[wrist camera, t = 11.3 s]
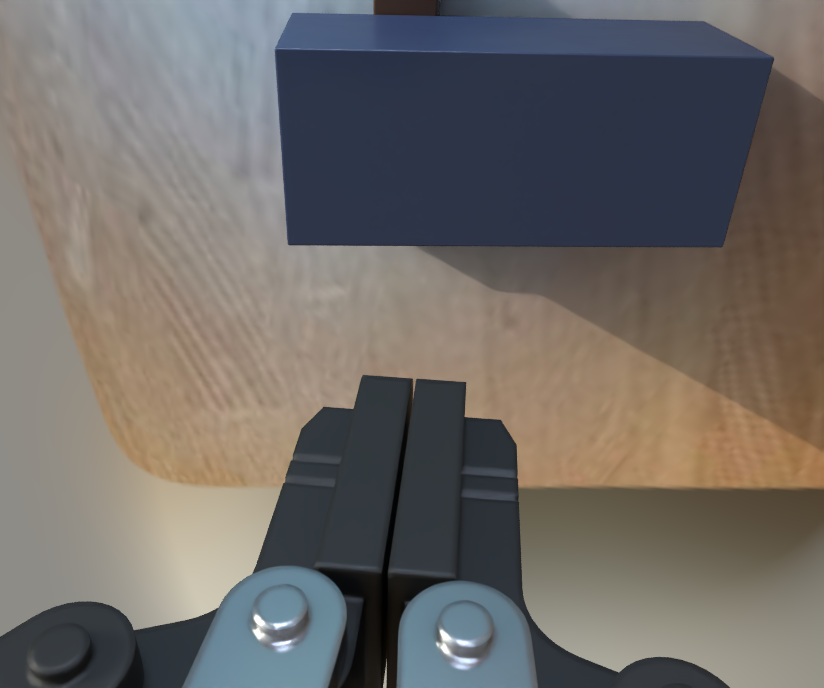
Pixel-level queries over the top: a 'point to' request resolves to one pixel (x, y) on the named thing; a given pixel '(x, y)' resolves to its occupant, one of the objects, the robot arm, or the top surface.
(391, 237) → the navy box
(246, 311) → the top surface
